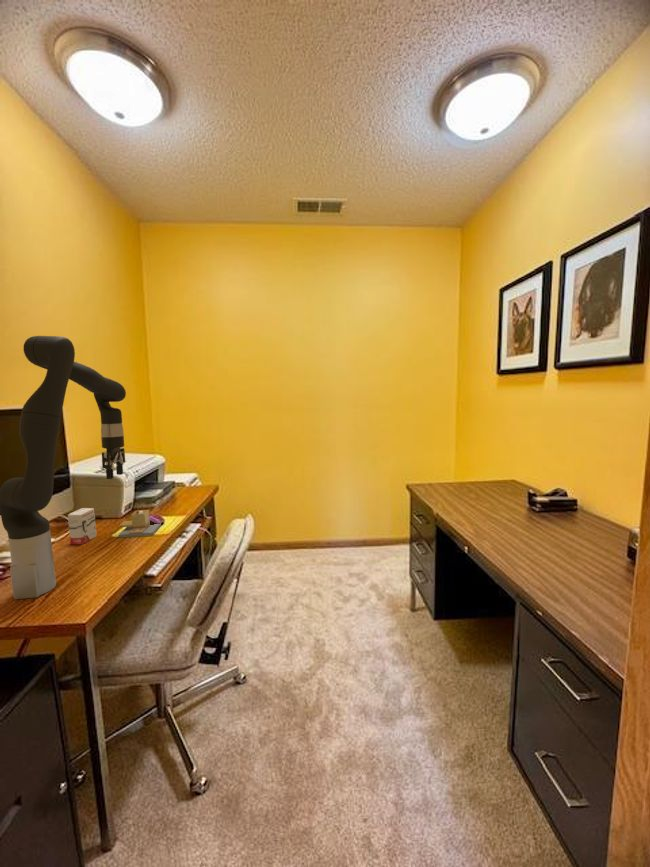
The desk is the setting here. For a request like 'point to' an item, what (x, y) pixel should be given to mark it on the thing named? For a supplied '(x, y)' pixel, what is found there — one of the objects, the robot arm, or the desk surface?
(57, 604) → the desk surface
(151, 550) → the desk surface
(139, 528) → the hinge base
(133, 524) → the beige flanged block
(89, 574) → the desk surface
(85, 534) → the ink box
